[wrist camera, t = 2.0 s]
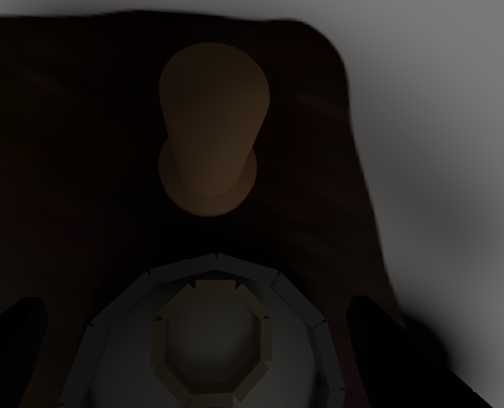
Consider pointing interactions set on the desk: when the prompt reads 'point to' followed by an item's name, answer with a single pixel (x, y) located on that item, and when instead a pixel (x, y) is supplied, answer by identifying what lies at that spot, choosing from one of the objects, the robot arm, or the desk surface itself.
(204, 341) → the carrier plate
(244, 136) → the brown waisted peg
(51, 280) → the desk surface
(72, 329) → the desk surface
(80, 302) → the desk surface
